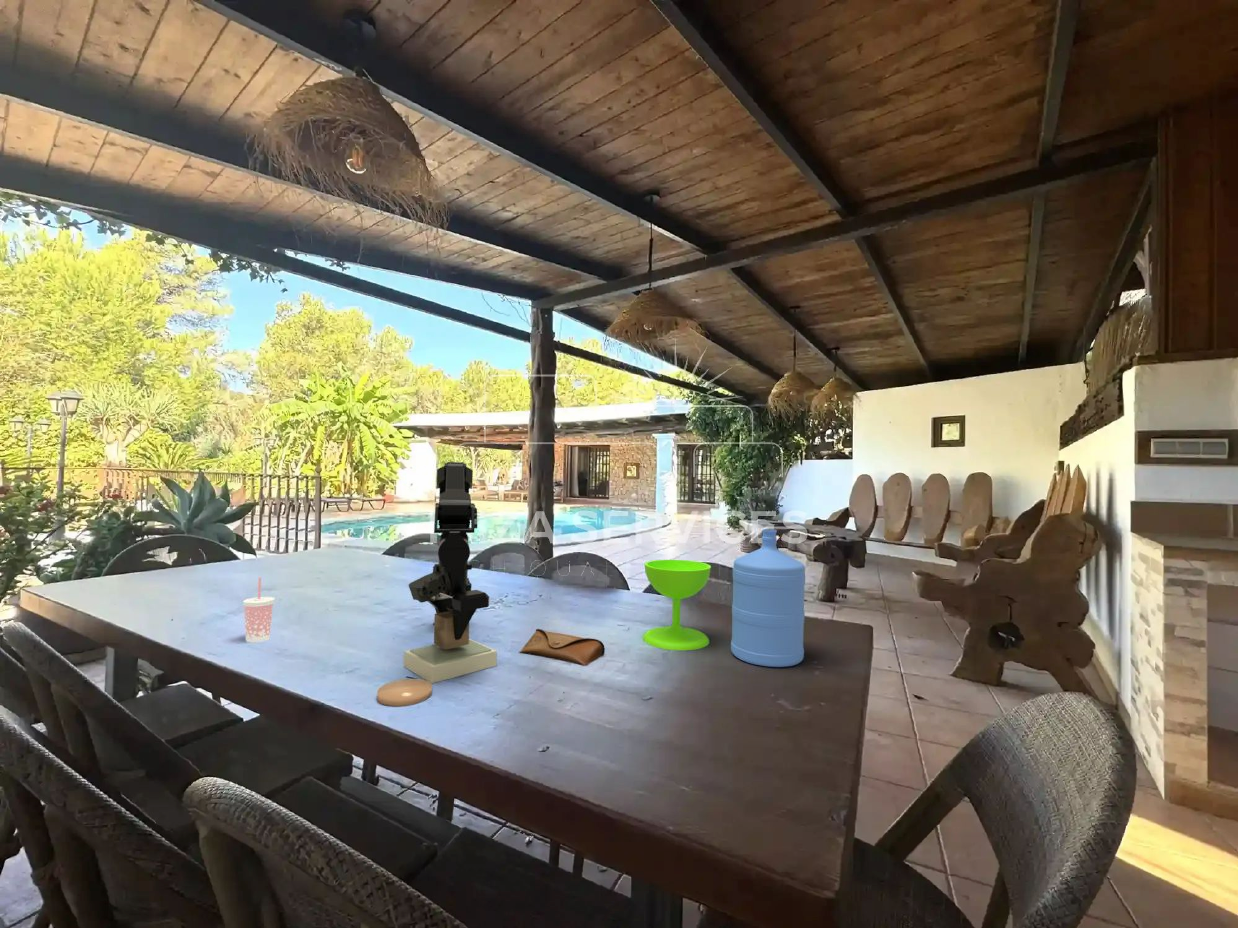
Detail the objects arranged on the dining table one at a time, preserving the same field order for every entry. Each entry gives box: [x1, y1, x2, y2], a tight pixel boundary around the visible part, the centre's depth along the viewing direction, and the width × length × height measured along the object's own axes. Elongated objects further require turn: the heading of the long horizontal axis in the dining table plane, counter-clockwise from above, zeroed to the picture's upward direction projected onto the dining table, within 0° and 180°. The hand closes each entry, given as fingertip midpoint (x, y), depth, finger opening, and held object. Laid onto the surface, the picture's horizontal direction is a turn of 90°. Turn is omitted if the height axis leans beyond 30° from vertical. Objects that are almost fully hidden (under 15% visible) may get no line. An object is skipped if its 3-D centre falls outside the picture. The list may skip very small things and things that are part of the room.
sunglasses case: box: [518, 628, 606, 666], centre depth 122 cm, size 18×7×7 cm
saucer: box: [376, 678, 433, 707], centre depth 97 cm, size 9×9×1 cm
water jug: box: [730, 529, 806, 668], centre depth 123 cm, size 16×16×28 cm
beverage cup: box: [242, 577, 276, 643], centre depth 126 cm, size 6×6×14 cm
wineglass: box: [642, 559, 712, 651], centre depth 133 cm, size 16×16×18 cm
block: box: [433, 611, 470, 649], centre depth 112 cm, size 5×5×6 cm
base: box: [403, 638, 498, 684], centre depth 112 cm, size 12×14×3 cm
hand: (451, 636), depth 112 cm, fingers closed on block, 5 cm apart
